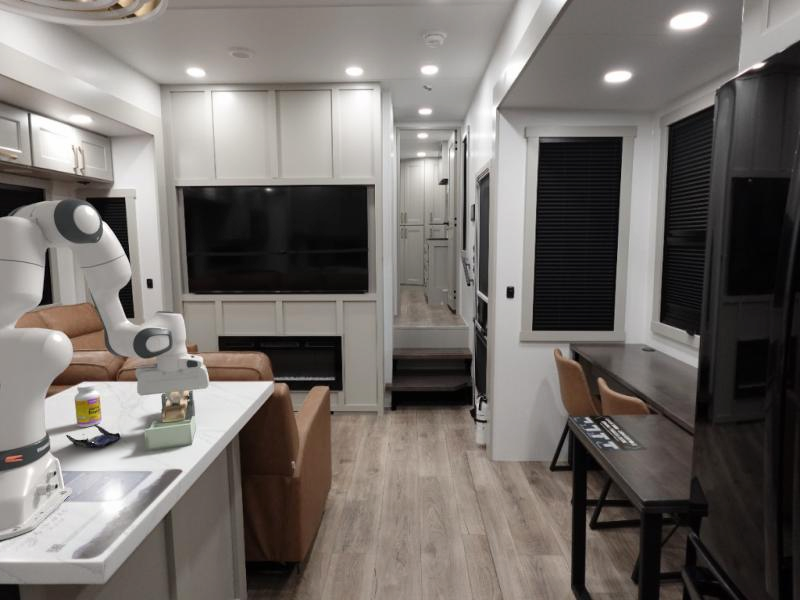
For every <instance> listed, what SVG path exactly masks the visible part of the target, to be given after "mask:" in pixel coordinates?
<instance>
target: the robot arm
mask: <svg viewBox="0 0 800 600" xmlns="http://www.w3.org/2000/svg"><path fill="white" fill-rule="evenodd" d="M64 247H67V248H69V249H70V251H72V252H73V254H74V257H75V259H76V261H77V263H78V265H79V269H80V270H81V272H82V273H83V276H84V278H85V280H86V282H87V285H88V290H89V293H90V294H89V295H90V297H91V300H92V302H93V305H94V307H95V310H96V312H97V315H98V318H99V320H100V322H101V325H102V328H103V333H104V335H103V337H104V345H105V347H106V350H107V351H108V352H109V353H110V354H111V355H112V356H116V357H118V358H119V357H122V358H123V357H124V358H134V359H142V360H148V359H153V358H155V363H149V364H141V365H140V366H138V367H136V369H135V372H134V373H135V374H134V375H135V377H136V379H137V388H136V389H137V394H138V395H140V397H141V396H149V395H159V394H164V393H165V396H166V398H167V399H168V400H169V401H170V406H175V405H181V398H182V396H183V394H184V391H187V390H189V391H191V390H193V391H196V390H204V389H207V388H208V387H209V385H210V376H209V373H208V369H207V366H206V365H205V364H204V357H202V356H200V355H196V354H191V353H190V354H189V353H188V349H187V346H186V341H187V332H186V331H187V330H186V323H185V320H184V317H183V315H182V313H180V312H178V311H169V310H159V311H155V312H154V314H153V316H151V318H149V319H148V320H146V321H145V322H143V323H141V324H134V323H132V322H131V321H129V320H128V319H127V316H126V314H125V312H124V308H123V305H122V303H121V301H120V297H119V292H120V290H122V289H123V288H124V287H125V286H127V284H128V283H129V282H130V280H131V278H132V274H133V273H132V268H131V264H130V262H129V259H128V257H127V255H126V253H125V251H124V247H122V244H121V243H120V241H119V239H118V238H117V236H116V235H115V233H114V231H113V229H111V228H110V226H109V225H108V224H107V222H105V221H103V219H102V216H101V215H100V213H99V211H98V210H97V209H96V208H95V207H94V205H92V204H91V203H90V202H89V201H86V200H83V199H78V198H66V199H65V198H64V199H62V200H61V199H60V200H59V199H58V200H51V201H50V200H44V201H40V202H35V203H32V204H28V205H22V206H20V207H17V208H15V209H13V210H12V211H11V212H9V213H8V215H7V216H2V217H0V541H1V540H7V539H10V538H13V537H17V536H21V535H22V534H25V533H28V532H30V531H31V532H32V530H34V529H35V528H36V527H38V526H39V525H40V524H41V523H42V522H43V521H44V520H45V519H46V518H48V516H50V515H51V514H52V513H53V512H54V511H55V510H56V509H57V508H58V507H60V505H61V504H62V503H64V502H65V501H66V500H67V499H68V498H69V497H70V496H71V495H72V494H73V490H72V487H67V486H65V483H64V479H63V472H62V467H61V464H60V460H59V459H58V457H55V456H54V455H53V454H52V453H51V439H50V435H49V433H48V432H47V427H46V416H45V402H46V396H47V393H48V391H49V388H50V386H51V384H52V383H53V382H54V380H55V379H57V377H58V376H59V375H60V374H62V373H63V372H64V371H65V370H66V369H67V368H68V367H69V365H70V364H71V362H72V359H73V356H74V348H73V343H72V341H71V339H70V338H69V337H68V335H66V333H65V332H62V331H60V330H57V329H56V330H55V329H49V328H42V327H41V328H40V327H21V328H20V327H18V328H17V327H16V324H17V323H18V321H19V320H20V319H21V318H22V317H23V316H24V315H25V314H26V313H28V312H29V311H32V310H34V309H35V308H36V307H38V306H39V304H40V303H41V301H42V299H43V291H44V280H45V269H46V268H45V266H46V253H47V249H49V248H64ZM15 327H16V328H15ZM171 392H178V394H179V395H180V396H179V398H177V399H173V398H172V397H171V396H170V395H171ZM68 496H69V497H68ZM67 497H68V498H67ZM66 498H67V499H66ZM65 499H66V500H65ZM64 500H65V501H64Z"/></svg>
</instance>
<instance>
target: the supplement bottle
mask: <svg viewBox="0 0 800 600" xmlns="http://www.w3.org/2000/svg"><path fill="white" fill-rule="evenodd" d="M77 391H78V393H77V394H76V395H75V396H74V404H75V405H74V407H75V417H76V425H77V427H79V428H89V427H95V426H94V425H95V424H96V425H98V424H100V423H102V421H103V420H102V406H101V396H100V393H99V391H97V390H96V383H93V382H90V383H89V382H87V383H82V384H78V385H77ZM91 425H92V426H91Z"/></svg>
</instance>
